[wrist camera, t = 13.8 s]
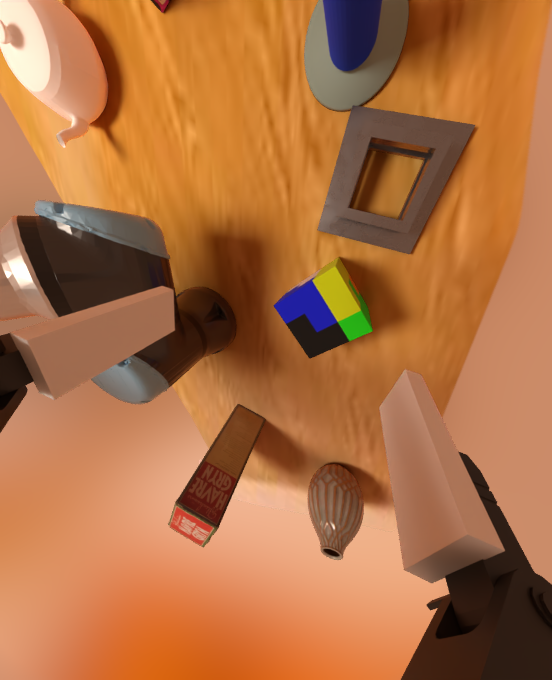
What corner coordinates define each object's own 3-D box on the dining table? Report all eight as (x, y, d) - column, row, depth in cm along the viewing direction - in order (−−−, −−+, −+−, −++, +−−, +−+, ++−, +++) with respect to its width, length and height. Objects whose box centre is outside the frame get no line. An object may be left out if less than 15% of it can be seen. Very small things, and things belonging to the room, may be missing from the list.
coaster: (295, 104, 28) (294, 102, 28) (321, -40, 23) (321, -46, 22) (378, 118, 27) (379, 116, 26) (429, -34, 21) (431, -41, 21)
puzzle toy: (290, 289, 40) (273, 305, 31) (339, 256, 35) (335, 265, 27) (318, 332, 42) (309, 358, 34) (368, 307, 37) (372, 330, 29)
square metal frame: (318, 230, 34) (313, 230, 30) (352, 108, 27) (352, 88, 23) (408, 253, 32) (416, 257, 28) (472, 127, 25) (494, 109, 21)
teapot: (137, 154, 37) (73, 132, 29) (87, 166, 41) (18, 149, 32) (83, -38, 29) (-32, -153, 20) (27, -1, 32) (-91, -84, 24)
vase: (331, 447, 55) (323, 528, 40) (373, 476, 55) (381, 567, 40) (303, 467, 62) (288, 542, 47) (341, 492, 62) (338, 575, 47)
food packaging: (252, 444, 65) (203, 550, 44) (225, 429, 65) (164, 525, 44) (267, 419, 58) (218, 530, 36) (236, 402, 58) (171, 501, 37)
